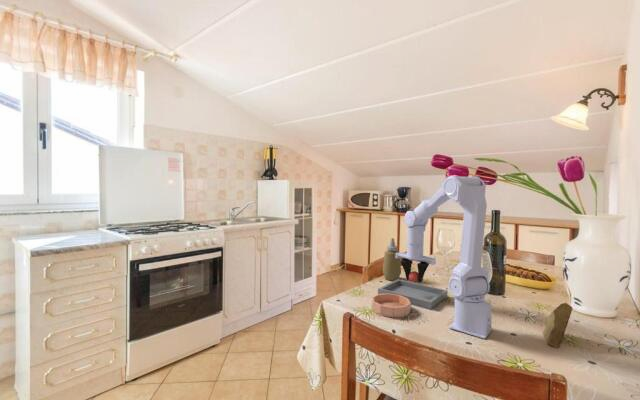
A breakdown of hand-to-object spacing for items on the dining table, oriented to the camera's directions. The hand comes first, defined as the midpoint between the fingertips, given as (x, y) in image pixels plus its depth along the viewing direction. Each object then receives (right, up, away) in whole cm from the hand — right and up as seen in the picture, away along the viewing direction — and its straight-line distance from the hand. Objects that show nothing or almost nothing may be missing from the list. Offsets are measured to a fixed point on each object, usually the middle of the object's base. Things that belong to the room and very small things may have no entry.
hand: (414, 280), depth 112 cm
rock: (+28, -8, -30) cm, 42 cm away
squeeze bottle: (-3, -6, +23) cm, 24 cm away
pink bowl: (-11, -7, -11) cm, 17 cm away
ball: (0, +1, 0) cm, 1 cm away
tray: (0, -6, +2) cm, 6 cm away
